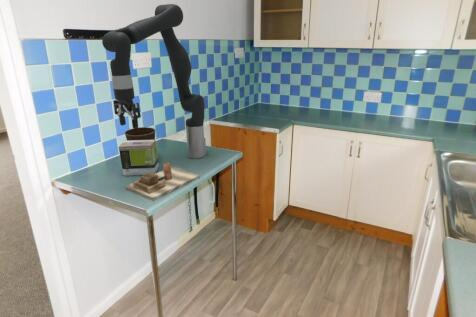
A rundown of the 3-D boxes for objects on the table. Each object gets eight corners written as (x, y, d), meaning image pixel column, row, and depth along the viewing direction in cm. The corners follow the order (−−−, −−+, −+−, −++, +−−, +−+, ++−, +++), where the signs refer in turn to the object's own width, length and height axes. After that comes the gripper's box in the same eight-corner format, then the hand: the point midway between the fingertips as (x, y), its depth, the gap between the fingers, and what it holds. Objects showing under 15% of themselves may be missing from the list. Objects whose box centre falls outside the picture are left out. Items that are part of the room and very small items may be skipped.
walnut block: (167, 176, 145) (165, 161, 143) (174, 178, 142) (173, 164, 140) (141, 187, 135) (139, 172, 132) (149, 190, 132) (147, 174, 129)
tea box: (159, 167, 158) (156, 138, 153) (155, 175, 149) (151, 145, 144) (128, 167, 158) (124, 139, 153) (122, 176, 149) (118, 146, 143)
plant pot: (149, 166, 159) (146, 136, 153) (123, 164, 162) (118, 134, 156) (163, 156, 172) (160, 128, 167) (138, 154, 176) (134, 126, 170)
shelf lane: (172, 168, 156) (172, 161, 155) (199, 177, 146) (199, 170, 145) (125, 188, 136) (124, 181, 135) (153, 200, 126) (152, 192, 125)
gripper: (142, 86, 124) (147, 127, 130) (120, 84, 132) (126, 122, 138) (125, 89, 118) (132, 131, 124) (104, 86, 126) (111, 126, 133)
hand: (129, 126), depth 131 cm, fingers open, 8 cm apart
